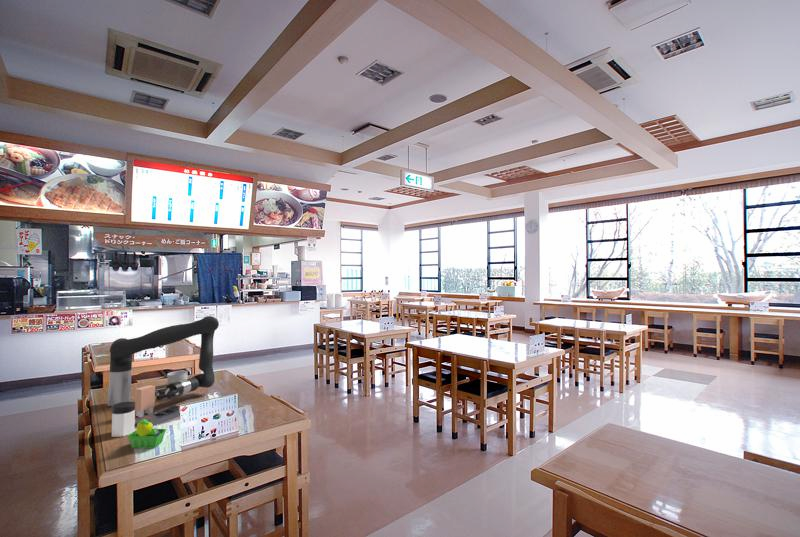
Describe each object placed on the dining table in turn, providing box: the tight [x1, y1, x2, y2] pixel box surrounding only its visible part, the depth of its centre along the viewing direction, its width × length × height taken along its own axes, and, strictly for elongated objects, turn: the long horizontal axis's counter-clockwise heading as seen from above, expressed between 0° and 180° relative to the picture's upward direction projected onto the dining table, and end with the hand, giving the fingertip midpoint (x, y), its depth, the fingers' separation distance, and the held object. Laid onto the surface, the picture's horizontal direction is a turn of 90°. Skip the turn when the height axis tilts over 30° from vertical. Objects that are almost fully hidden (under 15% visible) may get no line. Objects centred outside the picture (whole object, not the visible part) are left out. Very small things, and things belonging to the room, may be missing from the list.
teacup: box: [166, 369, 189, 385], centre depth 240 cm, size 14×11×8 cm
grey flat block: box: [135, 404, 181, 427], centre depth 186 cm, size 20×9×2 cm, turn 160°
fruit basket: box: [127, 419, 167, 449], centre depth 157 cm, size 11×9×11 cm
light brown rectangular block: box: [134, 384, 156, 418], centre depth 190 cm, size 7×4×13 cm, turn 160°
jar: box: [111, 401, 136, 438], centre depth 168 cm, size 9×8×12 cm
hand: (150, 397), depth 192 cm, fingers open, 8 cm apart
